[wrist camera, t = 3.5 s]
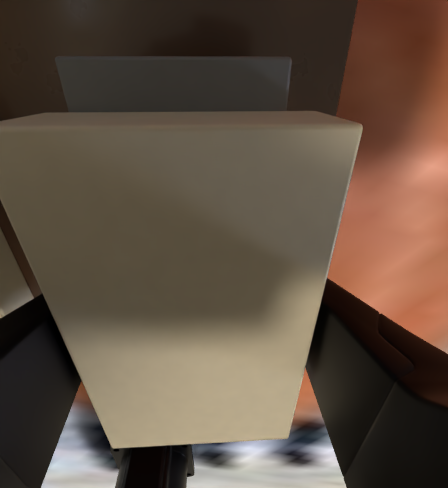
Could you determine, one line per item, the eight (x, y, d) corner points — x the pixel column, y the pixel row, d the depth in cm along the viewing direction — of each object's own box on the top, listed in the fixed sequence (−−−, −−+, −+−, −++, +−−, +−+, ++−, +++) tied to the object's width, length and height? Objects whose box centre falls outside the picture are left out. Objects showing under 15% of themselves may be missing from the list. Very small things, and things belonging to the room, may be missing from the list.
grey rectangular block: (250, 328, 15) (261, 394, 12) (158, 332, 15) (144, 399, 12) (269, 65, 9) (302, 56, 6) (109, 65, 8) (52, 55, 5)
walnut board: (286, 334, 17) (291, 351, 16) (-83, 349, 16) (-103, 368, 15) (344, -8, 9) (362, -19, 8) (-405, -16, 8) (-498, -31, 7)
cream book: (275, 379, 11) (288, 439, 9) (128, 386, 11) (111, 449, 9) (318, 110, 6) (367, 123, 4) (42, 112, 6) (-37, 126, 4)
